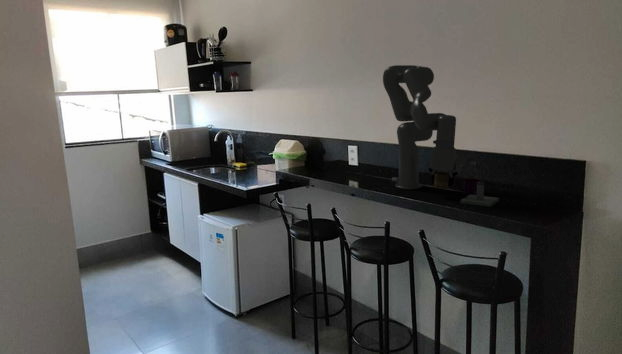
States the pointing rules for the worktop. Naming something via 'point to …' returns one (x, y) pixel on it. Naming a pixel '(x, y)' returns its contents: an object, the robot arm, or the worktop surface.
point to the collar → (441, 180)
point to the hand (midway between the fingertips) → (442, 184)
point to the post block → (480, 197)
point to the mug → (469, 186)
